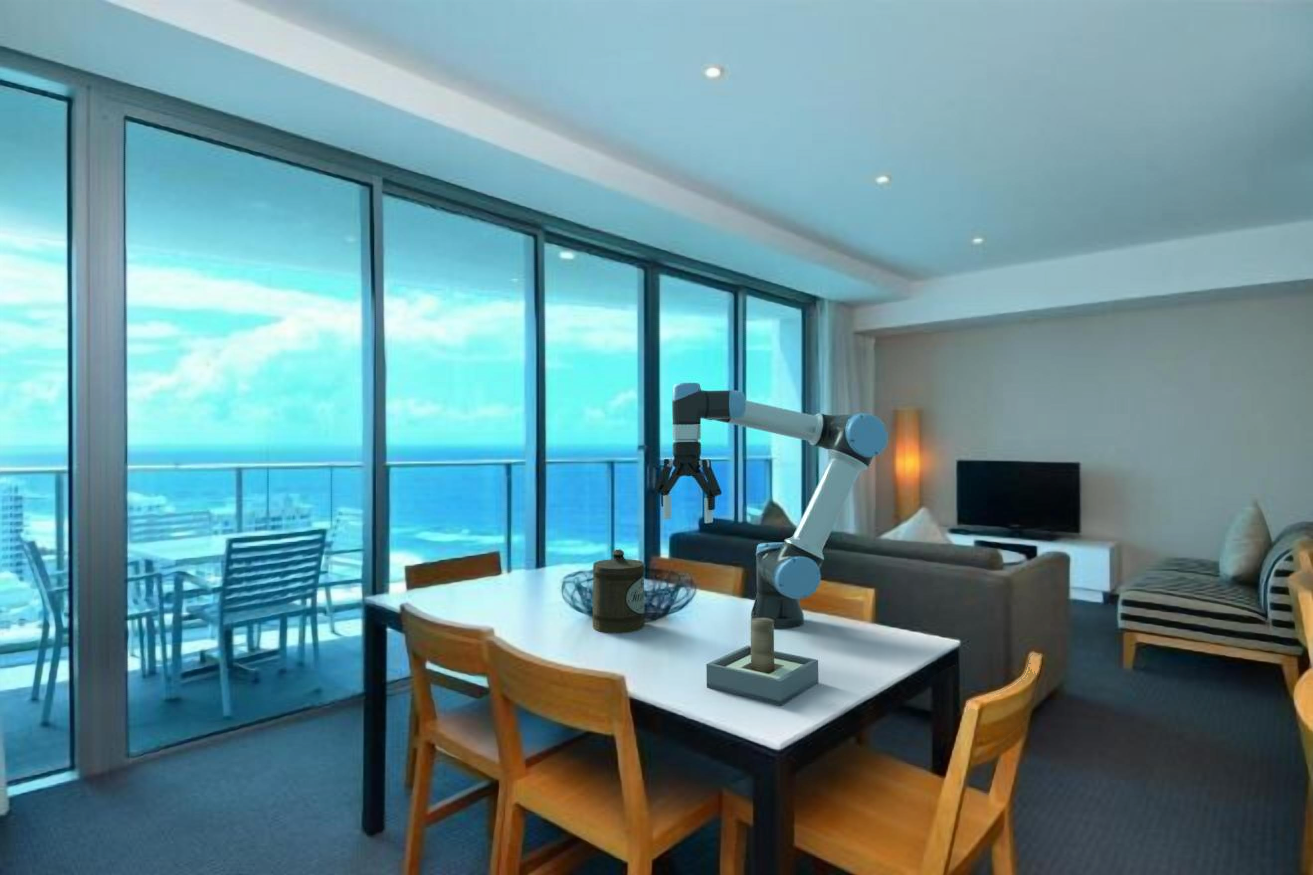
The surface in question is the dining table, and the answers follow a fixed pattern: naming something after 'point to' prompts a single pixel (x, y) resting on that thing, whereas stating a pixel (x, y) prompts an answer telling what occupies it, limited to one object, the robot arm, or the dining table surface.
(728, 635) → the dining table surface
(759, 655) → the peg
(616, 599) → the wooden container
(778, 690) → the tray
